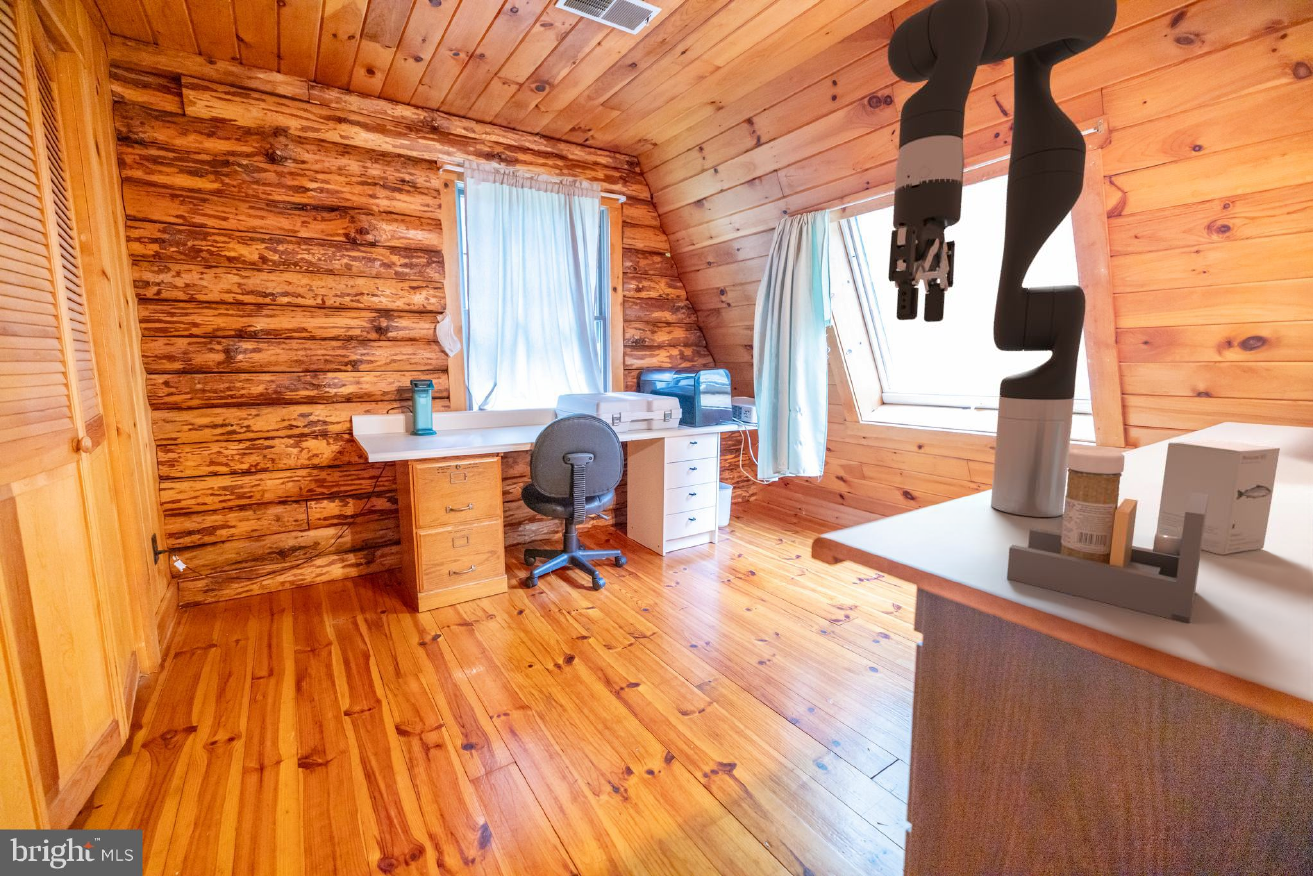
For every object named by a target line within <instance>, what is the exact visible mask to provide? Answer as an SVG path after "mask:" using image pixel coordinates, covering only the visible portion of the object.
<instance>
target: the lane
mask: <svg viewBox="0 0 1313 876" xmlns="http://www.w3.org/2000/svg"><path fill="white" fill-rule="evenodd" d="M1208 497H1209V495H1208V494H1200V493H1192V494H1191V497H1190V500H1189V502H1188V505H1187V508H1186V511H1185V518H1184V525H1183V533H1182V538H1180V537H1174V536H1167V535H1161V534H1156V533H1155V534H1154V538H1153V539H1154V540H1153V546H1152V547H1153V548H1146V547H1141V546H1135V545H1132V552H1131V560H1130V562H1135V563H1140V564H1145V565H1150V566H1155V567H1161V569H1160V575H1159V574H1154V573H1149V572H1144V571H1139V570H1135V569H1130V568H1125V567H1120V566H1115V565H1110V564H1105V563H1100V562H1095V561H1091V560H1086V559H1081V558H1076V557H1071V556H1066V555H1061V547H1062V543H1061V538H1062V532H1059V531H1053V530H1049V529H1048V530H1047V529H1042V528H1036V527H1032V528H1030V529H1029V532H1028V533H1029V535H1028V544H1027V546H1021V545H1017V544H1011V545H1010V546H1009V547H1008V549H1009V550H1008V562H1007V573H1006V575H1007V576H1006V579H1008V580H1011V581H1016V582H1020V583H1023V584H1028V585H1032V586H1036V587H1040V588H1044V589H1047V590H1048V589H1049V590H1052V591H1056V592H1060V593H1065V594H1067V595H1072V596H1077V597H1080V598H1085V599H1089V600H1093V601H1097V602H1102V603H1105V604H1108V605H1109V604H1110V605H1114V606H1118V607H1121V608H1125V609H1129V610H1135V611H1137V612H1142V613H1146V614H1150V615H1154V616H1158V617H1163V618H1165V619H1166V618H1167V619H1171V620H1176V621H1179V622H1183V623H1187V624H1190V622H1191V617H1192V612H1193V607H1194V601H1195V595H1196V589H1197V583H1198V575H1199V569H1200V562H1201V554H1202V550H1201V548H1202V541H1203V533H1204V526H1205V519H1206V512H1207V504H1208Z"/></svg>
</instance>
